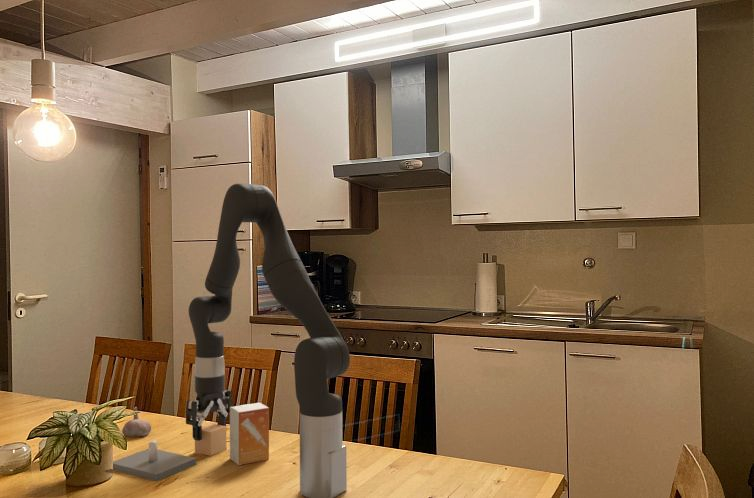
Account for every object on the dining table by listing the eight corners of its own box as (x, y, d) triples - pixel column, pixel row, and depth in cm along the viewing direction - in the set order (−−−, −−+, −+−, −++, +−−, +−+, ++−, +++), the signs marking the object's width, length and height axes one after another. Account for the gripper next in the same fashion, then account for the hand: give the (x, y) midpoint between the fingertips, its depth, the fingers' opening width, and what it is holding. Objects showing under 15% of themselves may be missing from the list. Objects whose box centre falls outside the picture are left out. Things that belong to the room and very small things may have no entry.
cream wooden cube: (226, 449, 159) (226, 426, 159) (210, 455, 154) (210, 432, 154) (210, 445, 162) (210, 423, 162) (194, 452, 157) (194, 428, 157)
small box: (238, 466, 147) (238, 412, 147) (229, 458, 152) (229, 406, 152) (269, 459, 151) (269, 407, 151) (259, 452, 157) (259, 401, 157)
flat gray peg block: (196, 464, 148) (195, 439, 148) (156, 481, 138) (156, 454, 138) (150, 453, 156) (150, 430, 156) (109, 468, 145) (109, 443, 145)
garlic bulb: (116, 437, 170) (116, 408, 170) (138, 430, 177) (138, 402, 177) (135, 441, 167) (134, 411, 166) (156, 433, 173) (156, 405, 173)
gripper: (200, 380, 150) (200, 445, 150) (239, 369, 162) (239, 430, 163) (178, 376, 154) (178, 440, 154) (218, 366, 166) (218, 426, 166)
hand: (209, 435), depth 158 cm, fingers open, 8 cm apart
